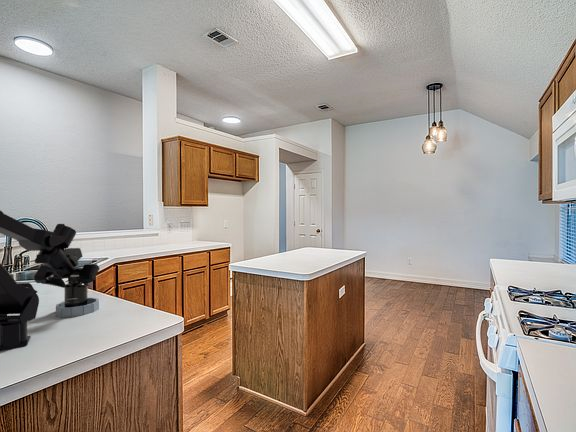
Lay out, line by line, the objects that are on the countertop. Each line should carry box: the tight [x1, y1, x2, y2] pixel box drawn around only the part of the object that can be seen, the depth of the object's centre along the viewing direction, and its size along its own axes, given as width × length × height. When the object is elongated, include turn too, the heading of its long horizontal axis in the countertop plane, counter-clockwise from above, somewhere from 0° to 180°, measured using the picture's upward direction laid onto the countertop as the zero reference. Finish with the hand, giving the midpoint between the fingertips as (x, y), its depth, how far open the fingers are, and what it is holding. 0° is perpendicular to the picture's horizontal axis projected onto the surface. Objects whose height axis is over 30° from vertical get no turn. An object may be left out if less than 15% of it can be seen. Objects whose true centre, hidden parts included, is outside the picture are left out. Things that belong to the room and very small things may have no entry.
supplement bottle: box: [63, 275, 89, 307], centre depth 111 cm, size 7×7×12 cm
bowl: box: [55, 297, 100, 318], centre depth 111 cm, size 13×13×3 cm
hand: (78, 286), depth 111 cm, fingers open, 9 cm apart
